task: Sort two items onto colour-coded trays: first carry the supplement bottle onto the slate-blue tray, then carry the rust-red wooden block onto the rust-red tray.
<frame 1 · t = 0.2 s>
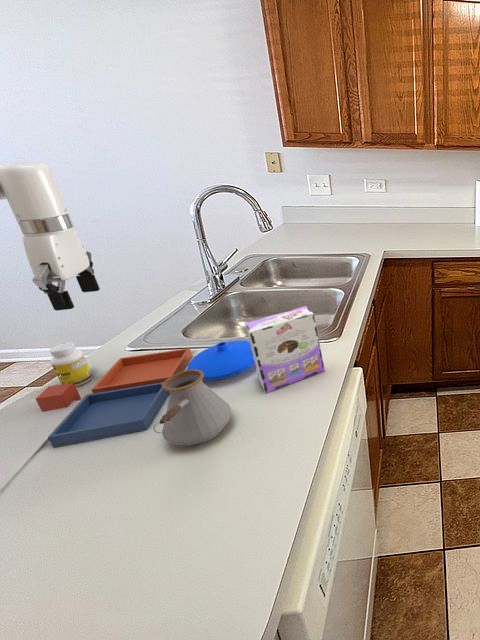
hand: (78, 299, 88), 21 cm above the table, tool pointing down, fingers open, 9 cm apart
coffee pot: (197, 449, 76), on the table
rust tray: (148, 375, 97), on the table
rust block: (63, 406, 87), on the table
blue tray: (117, 416, 84), on the table
candy box: (293, 377, 97), on the table
blue pot lid: (228, 368, 100), on the table
supplement bottle: (78, 382, 95), on the table
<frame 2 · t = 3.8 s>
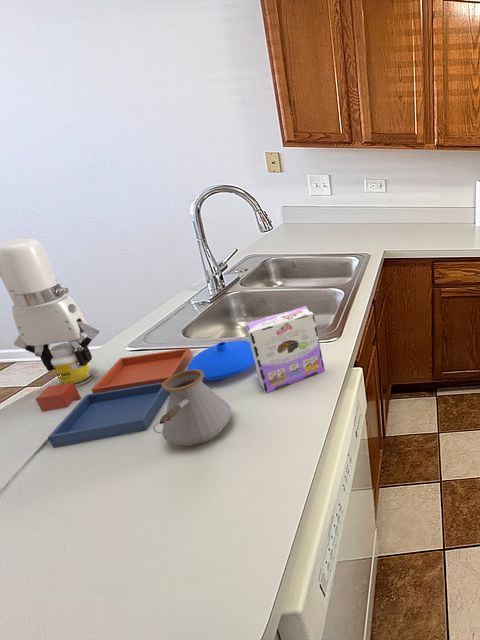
hand: (70, 364, 93), 5 cm above the table, tool pointing down, fingers closed on supplement bottle, 5 cm apart
supplement bottle: (78, 382, 95), on the table, touching gripper
everything else where it was.
when the fingers open (5 cm above the table, at t = 11.4 s): supplement bottle stays where it is, resting on blue tray.
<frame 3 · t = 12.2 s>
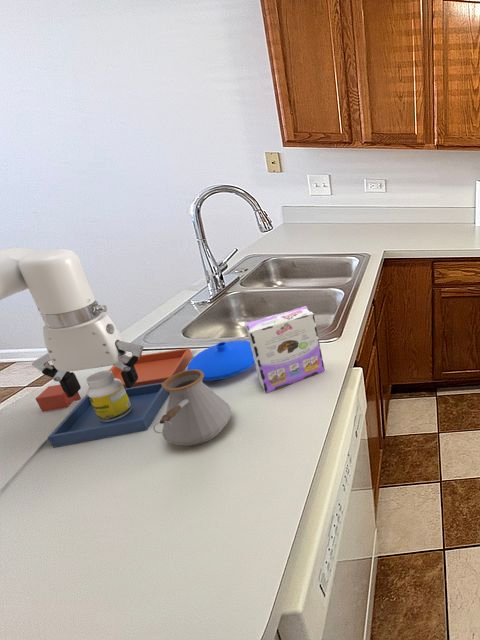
hand: (104, 388, 81), 7 cm above the table, tool pointing down, fingers open, 9 cm apart
supplement bottle: (116, 414, 84), resting on blue tray
everything else where it was.
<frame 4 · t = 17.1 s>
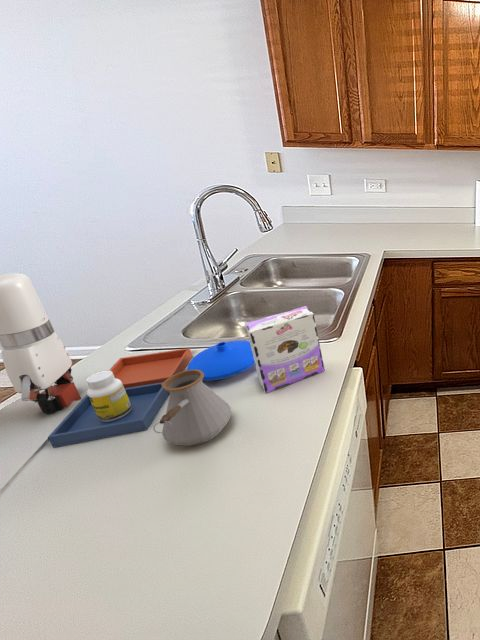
hand: (62, 405, 87), 0 cm above the table, tool pointing down, fingers closed on rust block, 4 cm apart
rust block: (63, 406, 87), on the table, touching gripper
everything else where it was.
when the fingers open (1 cm above the table, at t = 24.4 s): rust block stays where it is, resting on rust tray.
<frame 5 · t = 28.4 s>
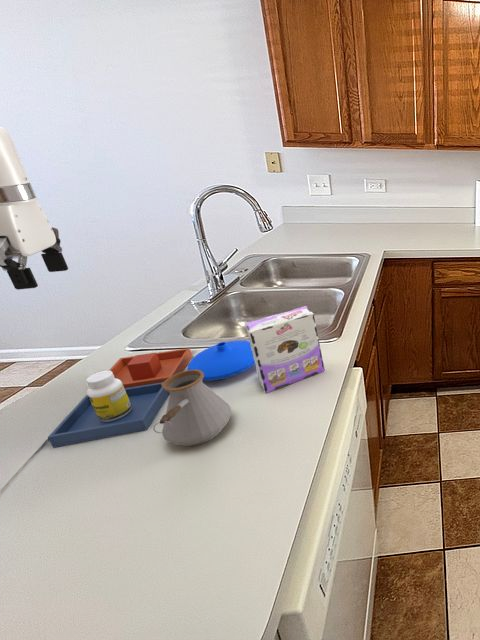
hand: (43, 279, 81), 28 cm above the table, tool pointing down, fingers open, 9 cm apart
rust block: (147, 373, 97), point 1 cm above the table, touching rust tray
everything else where it was.
at the end: supplement bottle inside the target area in the blue tray (0.1 cm from its centre), point 0.4 cm above the blue tray's base; supplement bottle tilted 0°; rust block inside the target area in the rust tray (0.1 cm from its centre), point 0.6 cm above the rust tray's base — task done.
